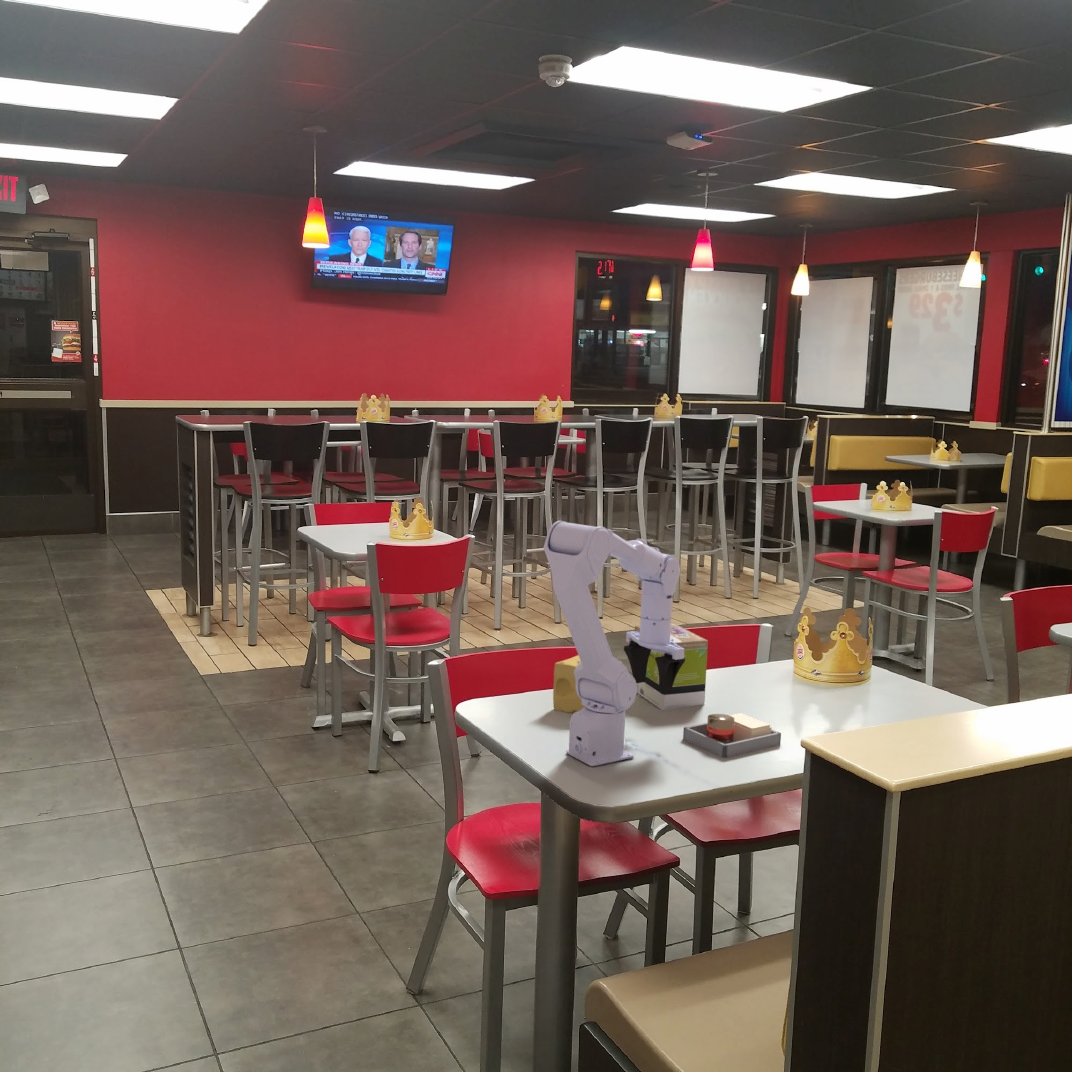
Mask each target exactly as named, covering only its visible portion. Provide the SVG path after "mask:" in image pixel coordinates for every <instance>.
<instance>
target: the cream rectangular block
mask: <svg viewBox="0 0 1072 1072" xmlns="http://www.w3.org/2000/svg"><path fill="white" fill-rule="evenodd" d="M728 715H729V716H732V717H733V718H734V738H733V740H735V741H742V740H746V739H750V738H755V737H759V736H764V735H768V734H771V729H772V727H771V724H769V723H767V722H764V721H762V720H759V719H757V718H755V717H751V716H749V715H747V714H745V713H741V712H740V713H739V712H738V713H734V714H731V715H730V714H728Z"/></svg>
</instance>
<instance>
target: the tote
mask: <svg viewBox="0 0 1072 1072" xmlns="http://www.w3.org/2000/svg"><path fill="white" fill-rule="evenodd" d="M682 733H683V735H682V739H683V740H685V741H686V742H688V743H691V744H693V745H694V746H695V745H696V746H698V747H700V748H702V749H703V750H707V751H708V752H710V753H713V754H714V755H715V754H716V755H717V756H720V757H722V758H723V759H725V758H730V757H733V756H738V755H743V754H748V753H751V752H756V751H760V750H765V749H768V748H773V747H777V746H780V745H781V741H782V740H781V739H782V732H779V731H777V730H774V729H772V728H771V734H768V735H764V736H759V737H755V738H750V739H746V740H742V741H735V740H733V743H728V744H724V743H722V742H719V741H717V740H715V739H712V738H710V737H708V736H707V735H706V734H707V722H704V723H698V724H695V725H689V726H685V727H683V731H682Z"/></svg>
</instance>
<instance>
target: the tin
mask: <svg viewBox="0 0 1072 1072" xmlns="http://www.w3.org/2000/svg"><path fill="white" fill-rule="evenodd" d="M729 715H730V714H724V713H712V714H709V715H707V722H706V723H707V734H706V735H707V736H708V737H710V738H712V739H715V740H717V741H719V742H722V743H724V744H728V743H733V738H734V718H733V717H732V716H729Z"/></svg>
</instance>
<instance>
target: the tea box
mask: <svg viewBox="0 0 1072 1072" xmlns="http://www.w3.org/2000/svg"><path fill="white" fill-rule="evenodd" d="M634 631H636V632H639V633H640V625H635V626H634ZM670 638H673V642H674V643H675V644H677V645H678V646H680V647H682V648H684V658H685V662H684V663H683V665H682V666H681V668H680V669H679V671H678V673H677V675H676V678H675V680H674V683H673V686H672V690H671V693H667V694H660V690H659V672H658V667H657V663H656V661H655V657H661V656H664V654H662V653H660V652H657V651H654V650H651V652H650V655H649V659H648V663H647V671H646V678H645V682H642V683H636V685H637V694H638V695H641V697H642V698H644V699H646V700H647V701H648V702H650V703H651V704H653V706H655V707H657V708H658V709H660V711H661V712H666V711H672V710H677V709H681V708H682V709H683V708H687V707H693V706H703V705H705V699H706V681H707V663H708V645H709V643H708V642H709V640H708V639H705V638H704V637H701V636H700V635H697V634H696V633H694V632H691V631H690V630H688V629H685V627H682V626H680V625H678V624H676V623H675V622H674V623H672V622H671V632H670Z"/></svg>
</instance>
